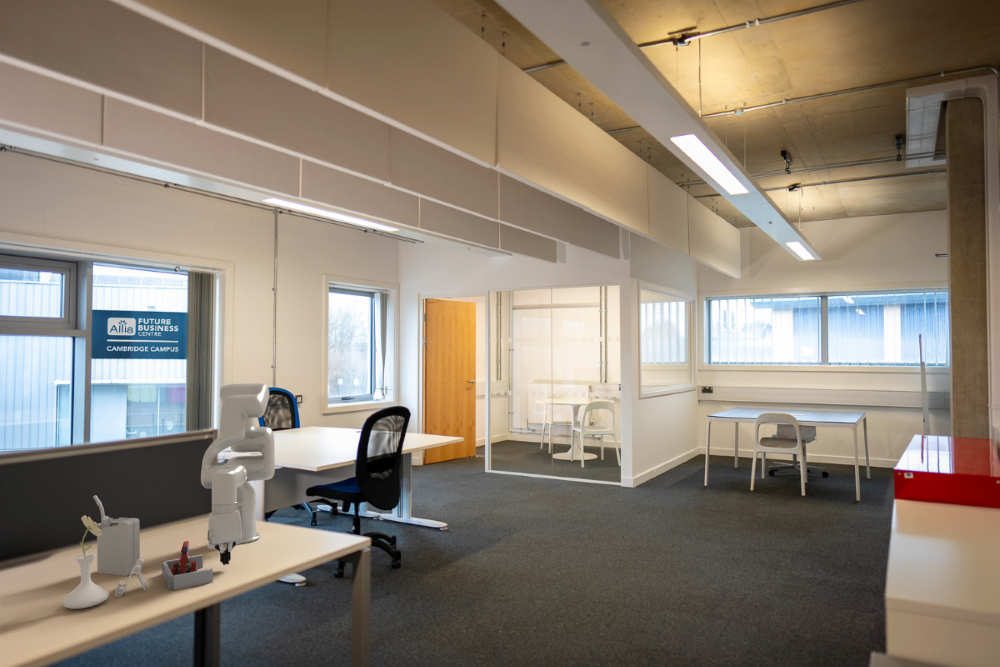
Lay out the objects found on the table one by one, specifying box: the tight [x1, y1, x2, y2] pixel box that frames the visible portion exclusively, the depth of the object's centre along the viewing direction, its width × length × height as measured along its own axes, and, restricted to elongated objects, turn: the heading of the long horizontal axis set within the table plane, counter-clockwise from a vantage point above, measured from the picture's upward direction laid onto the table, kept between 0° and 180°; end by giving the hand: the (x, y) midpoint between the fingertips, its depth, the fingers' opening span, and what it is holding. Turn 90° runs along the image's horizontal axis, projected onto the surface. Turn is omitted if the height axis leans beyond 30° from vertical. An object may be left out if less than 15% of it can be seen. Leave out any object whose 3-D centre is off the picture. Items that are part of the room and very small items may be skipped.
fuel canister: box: [92, 495, 141, 577], centre depth 218 cm, size 15×5×25 cm, turn 73°
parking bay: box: [161, 554, 214, 591], centre depth 211 cm, size 18×12×4 cm, turn 34°
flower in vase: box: [61, 514, 110, 610], centre depth 191 cm, size 13×11×25 cm
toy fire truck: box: [171, 540, 198, 576], centre depth 211 cm, size 7×12×10 cm, turn 20°
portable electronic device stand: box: [114, 557, 148, 598], centre depth 200 cm, size 9×8×8 cm
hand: (225, 563), depth 218 cm, fingers closed
